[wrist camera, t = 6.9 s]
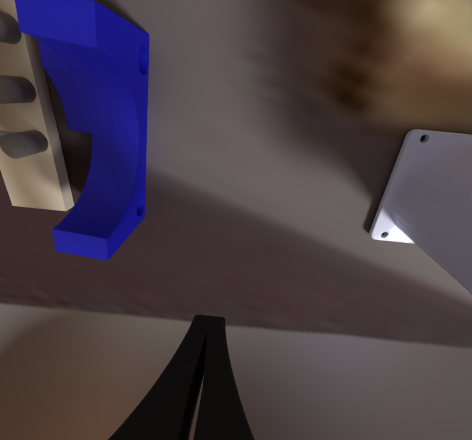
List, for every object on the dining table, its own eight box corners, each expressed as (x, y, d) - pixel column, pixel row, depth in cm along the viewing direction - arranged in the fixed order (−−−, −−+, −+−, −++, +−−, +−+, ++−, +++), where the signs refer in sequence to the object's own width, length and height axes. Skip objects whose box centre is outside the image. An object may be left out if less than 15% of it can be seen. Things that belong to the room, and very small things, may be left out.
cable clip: (72, 18, 14) (-31, -28, 9) (150, 35, 15) (94, 0, 9) (88, 205, 20) (29, 246, 14) (145, 216, 20) (107, 260, 15)
